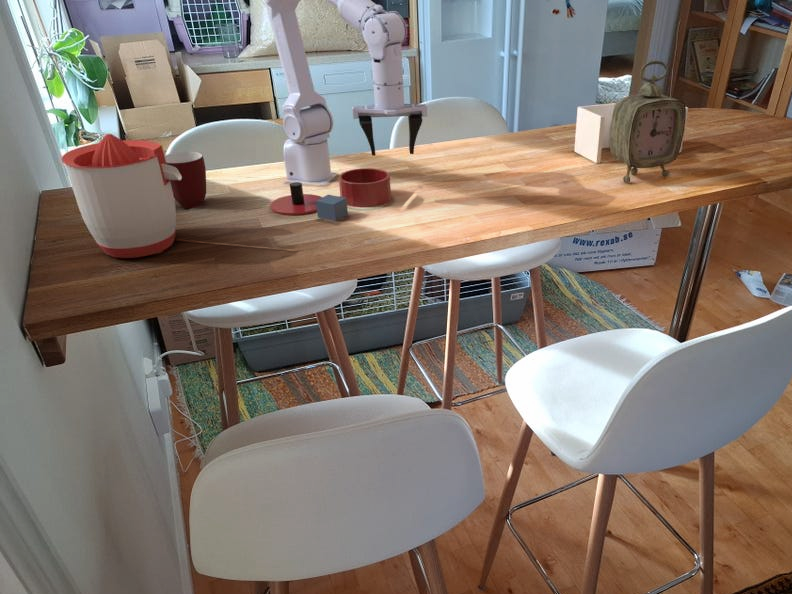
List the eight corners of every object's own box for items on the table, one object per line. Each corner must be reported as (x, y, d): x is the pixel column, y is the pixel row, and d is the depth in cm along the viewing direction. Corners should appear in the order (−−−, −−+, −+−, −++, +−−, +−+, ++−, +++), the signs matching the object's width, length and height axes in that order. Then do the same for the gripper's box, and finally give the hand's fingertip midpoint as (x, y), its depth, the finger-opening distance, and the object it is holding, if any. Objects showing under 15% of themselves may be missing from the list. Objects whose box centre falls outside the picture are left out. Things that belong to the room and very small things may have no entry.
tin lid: (261, 215, 137) (256, 191, 135) (285, 197, 147) (281, 173, 144) (313, 220, 135) (310, 195, 133) (335, 201, 145) (332, 177, 142)
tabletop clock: (623, 186, 154) (638, 66, 140) (601, 174, 160) (613, 59, 147) (676, 178, 159) (695, 61, 145) (652, 167, 166) (668, 55, 152)
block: (318, 220, 136) (315, 200, 133) (330, 213, 139) (328, 194, 136) (336, 224, 134) (334, 204, 132) (348, 217, 137) (346, 197, 135)
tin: (333, 207, 141) (330, 182, 138) (351, 191, 150) (349, 166, 147) (382, 211, 140) (380, 185, 137) (397, 194, 148) (396, 169, 145)
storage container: (656, 141, 185) (662, 98, 179) (681, 152, 176) (688, 107, 170) (574, 151, 177) (577, 106, 171) (596, 163, 168) (600, 116, 162)
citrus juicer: (194, 258, 120) (166, 141, 109) (84, 269, 116) (44, 150, 105) (198, 225, 133) (173, 118, 122) (99, 235, 129) (65, 125, 118)
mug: (159, 216, 137) (146, 166, 131) (157, 203, 143) (145, 155, 137) (215, 209, 140) (204, 160, 135) (211, 197, 146) (200, 149, 141)
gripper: (350, 88, 129) (356, 160, 136) (427, 85, 131) (430, 157, 138) (350, 80, 134) (356, 150, 142) (424, 78, 136) (426, 147, 144)
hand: (392, 153), depth 140 cm, fingers open, 7 cm apart
